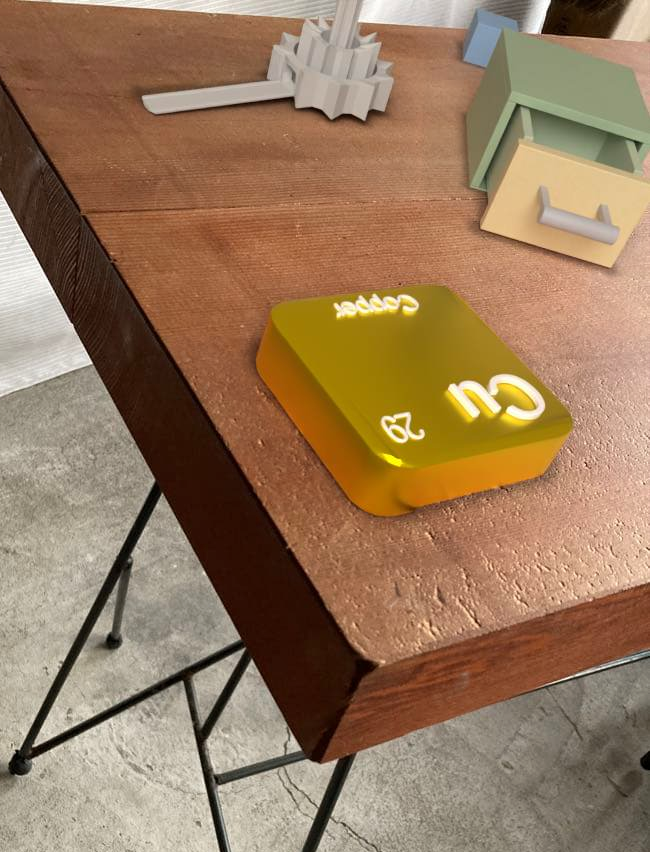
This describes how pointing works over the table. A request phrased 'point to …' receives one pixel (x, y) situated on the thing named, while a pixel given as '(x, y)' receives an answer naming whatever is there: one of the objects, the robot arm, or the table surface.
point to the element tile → (409, 396)
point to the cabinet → (551, 95)
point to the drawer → (565, 186)
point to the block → (484, 36)
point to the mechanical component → (307, 72)
